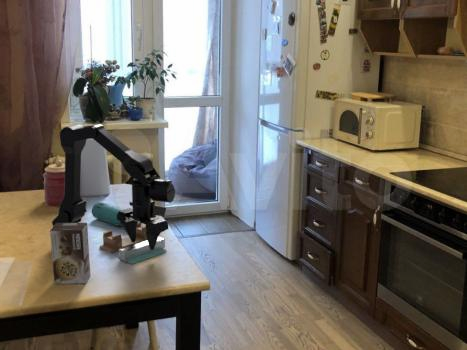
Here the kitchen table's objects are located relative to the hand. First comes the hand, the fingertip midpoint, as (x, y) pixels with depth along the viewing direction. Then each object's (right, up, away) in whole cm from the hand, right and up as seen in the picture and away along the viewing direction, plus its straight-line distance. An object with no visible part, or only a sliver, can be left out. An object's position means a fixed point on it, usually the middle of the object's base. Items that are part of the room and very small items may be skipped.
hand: (142, 245), depth 178 cm
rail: (0, -2, +1) cm, 3 cm away
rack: (-7, 0, +10) cm, 12 cm away
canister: (-42, +11, +54) cm, 69 cm away
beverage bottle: (-24, +10, +35) cm, 43 cm away
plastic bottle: (-33, +15, +68) cm, 77 cm away
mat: (0, -3, +1) cm, 3 cm away
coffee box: (-17, -8, -18) cm, 26 cm away
